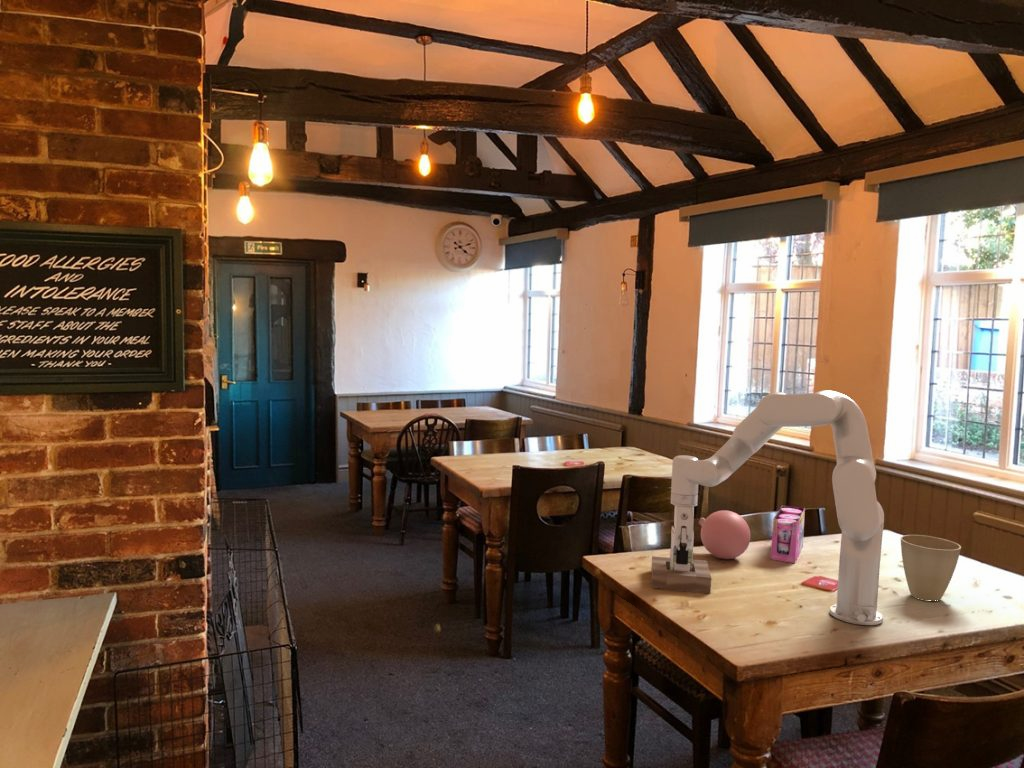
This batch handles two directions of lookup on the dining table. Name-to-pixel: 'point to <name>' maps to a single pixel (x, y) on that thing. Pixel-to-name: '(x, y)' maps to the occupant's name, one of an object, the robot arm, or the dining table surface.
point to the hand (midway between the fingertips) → (681, 559)
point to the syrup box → (674, 551)
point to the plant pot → (928, 565)
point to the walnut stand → (681, 576)
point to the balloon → (725, 534)
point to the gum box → (787, 534)
